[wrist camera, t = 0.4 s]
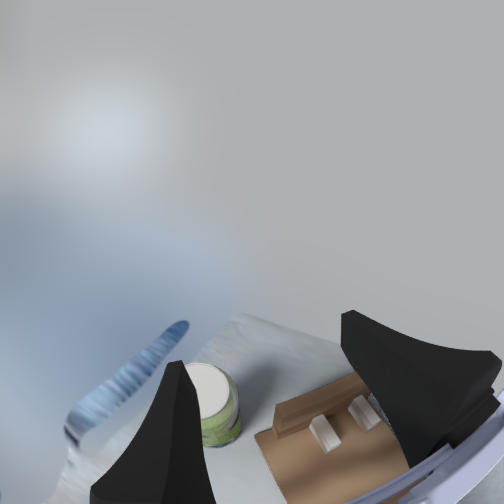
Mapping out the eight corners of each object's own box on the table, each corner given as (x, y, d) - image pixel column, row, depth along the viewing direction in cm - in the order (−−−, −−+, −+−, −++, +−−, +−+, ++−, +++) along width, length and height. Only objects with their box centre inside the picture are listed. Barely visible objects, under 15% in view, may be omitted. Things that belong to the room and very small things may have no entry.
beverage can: (237, 403, 29) (232, 339, 23) (247, 457, 23) (246, 413, 17) (184, 407, 28) (160, 344, 22) (188, 462, 22) (157, 419, 16)
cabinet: (425, 483, 17) (461, 464, 13) (316, 552, 13) (335, 556, 9) (358, 393, 30) (376, 360, 26) (254, 437, 25) (255, 411, 22)
